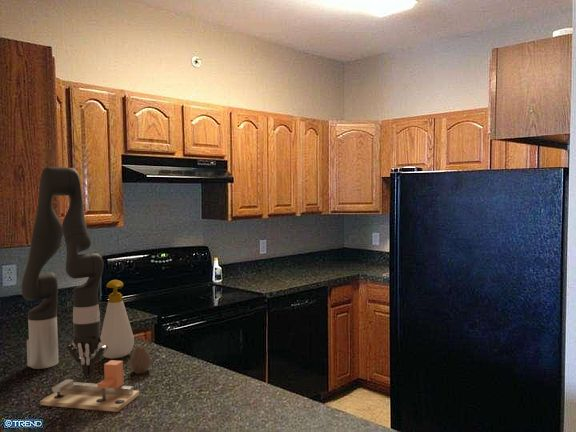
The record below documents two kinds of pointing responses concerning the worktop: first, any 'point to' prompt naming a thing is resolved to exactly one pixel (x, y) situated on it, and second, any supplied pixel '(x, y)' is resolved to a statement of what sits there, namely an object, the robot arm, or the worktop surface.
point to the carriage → (112, 376)
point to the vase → (140, 360)
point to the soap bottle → (116, 325)
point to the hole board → (89, 400)
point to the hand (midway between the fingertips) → (88, 375)
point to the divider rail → (90, 388)
